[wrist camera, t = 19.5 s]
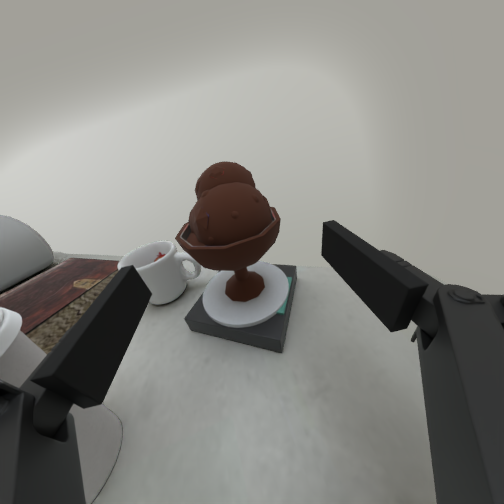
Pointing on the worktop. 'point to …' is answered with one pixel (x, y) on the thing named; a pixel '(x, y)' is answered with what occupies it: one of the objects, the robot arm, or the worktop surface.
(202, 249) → the ice cream bowl
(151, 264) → the cup
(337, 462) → the worktop surface
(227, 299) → the scale
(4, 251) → the jar
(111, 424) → the coffee cup
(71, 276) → the hardback book
